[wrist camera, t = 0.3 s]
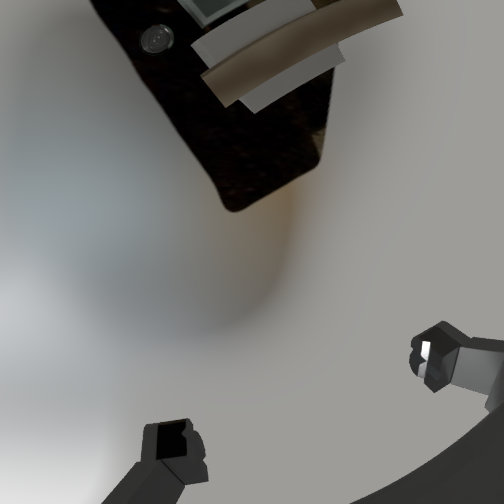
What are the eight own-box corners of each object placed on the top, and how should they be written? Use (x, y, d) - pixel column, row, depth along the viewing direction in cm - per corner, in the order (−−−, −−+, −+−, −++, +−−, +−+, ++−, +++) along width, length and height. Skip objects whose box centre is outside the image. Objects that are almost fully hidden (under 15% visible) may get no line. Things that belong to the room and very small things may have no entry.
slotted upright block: (190, 45, 40) (197, 39, 21) (246, 11, 37) (300, -15, 18) (222, 84, 46) (254, 113, 27) (275, 51, 44) (345, 60, 25)
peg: (200, 75, 23) (202, 78, 21) (371, -11, 19) (390, -13, 16) (220, 101, 26) (225, 107, 23) (384, 14, 21) (403, 15, 18)
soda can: (178, 31, 38) (177, 25, 29) (172, 55, 41) (169, 57, 32) (151, 28, 36) (142, 22, 27) (145, 53, 39) (134, 54, 30)
